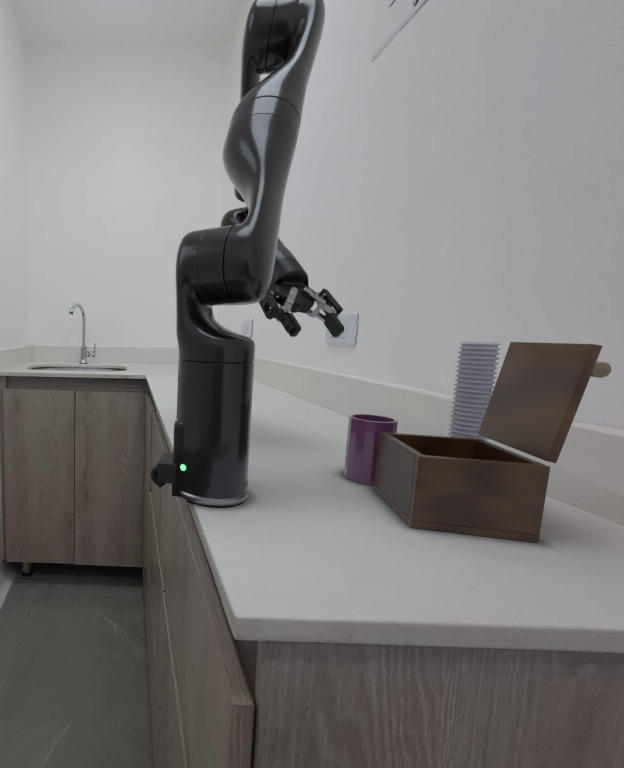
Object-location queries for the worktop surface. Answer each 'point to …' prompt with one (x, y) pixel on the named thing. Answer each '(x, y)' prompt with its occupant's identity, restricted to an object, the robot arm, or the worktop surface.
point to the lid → (540, 395)
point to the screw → (473, 387)
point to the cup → (365, 445)
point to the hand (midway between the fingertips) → (318, 333)
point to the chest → (461, 485)
